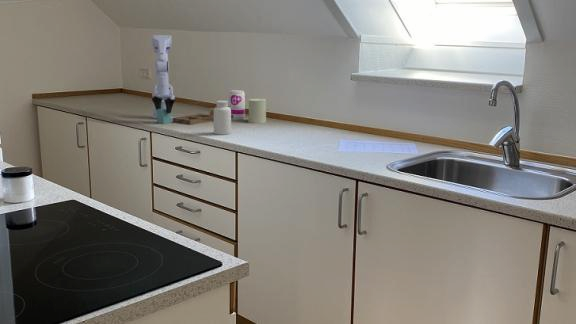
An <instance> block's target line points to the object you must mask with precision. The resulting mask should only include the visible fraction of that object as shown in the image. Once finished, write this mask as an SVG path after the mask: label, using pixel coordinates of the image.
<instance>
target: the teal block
mask: <svg viewBox="0 0 576 324" xmlns="http://www.w3.org/2000/svg"><path fill="white" fill-rule="evenodd" d="M171 117H172V112H171V113H169V114H167V111H166V109H165V108H163V109H157V119H156V124H159V123H160V124H161V125H167V124H172V119H171ZM160 124H159V125H160Z"/></svg>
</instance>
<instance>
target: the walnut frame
mask: <svg viewBox="0 0 576 324" xmlns="http://www.w3.org/2000/svg"><path fill="white" fill-rule="evenodd" d="M172 122H173V123H178V124H183V125H191V126H193V125H197V124H204V123H208V122H214V116H213V115H209V114H205V113H197V114H191V115H184V116H177V117H175V118H172Z"/></svg>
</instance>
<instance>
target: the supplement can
mask: <svg viewBox="0 0 576 324" xmlns="http://www.w3.org/2000/svg"><path fill="white" fill-rule="evenodd" d="M229 91H230V92H229V93H228V100H229V101H228V107H229V108H230V109H231V121H243V120H244V119H245V118H246V100H245V99H246V98H245V97H246V96H245V91H244V90H241V89H233V90H232V89H231V90H229Z"/></svg>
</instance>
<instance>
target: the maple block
mask: <svg viewBox="0 0 576 324" xmlns="http://www.w3.org/2000/svg"><path fill="white" fill-rule="evenodd" d="M214 108H215V107H212V108H209V109H208V110H209V114H208V115H213V116H214Z"/></svg>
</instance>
